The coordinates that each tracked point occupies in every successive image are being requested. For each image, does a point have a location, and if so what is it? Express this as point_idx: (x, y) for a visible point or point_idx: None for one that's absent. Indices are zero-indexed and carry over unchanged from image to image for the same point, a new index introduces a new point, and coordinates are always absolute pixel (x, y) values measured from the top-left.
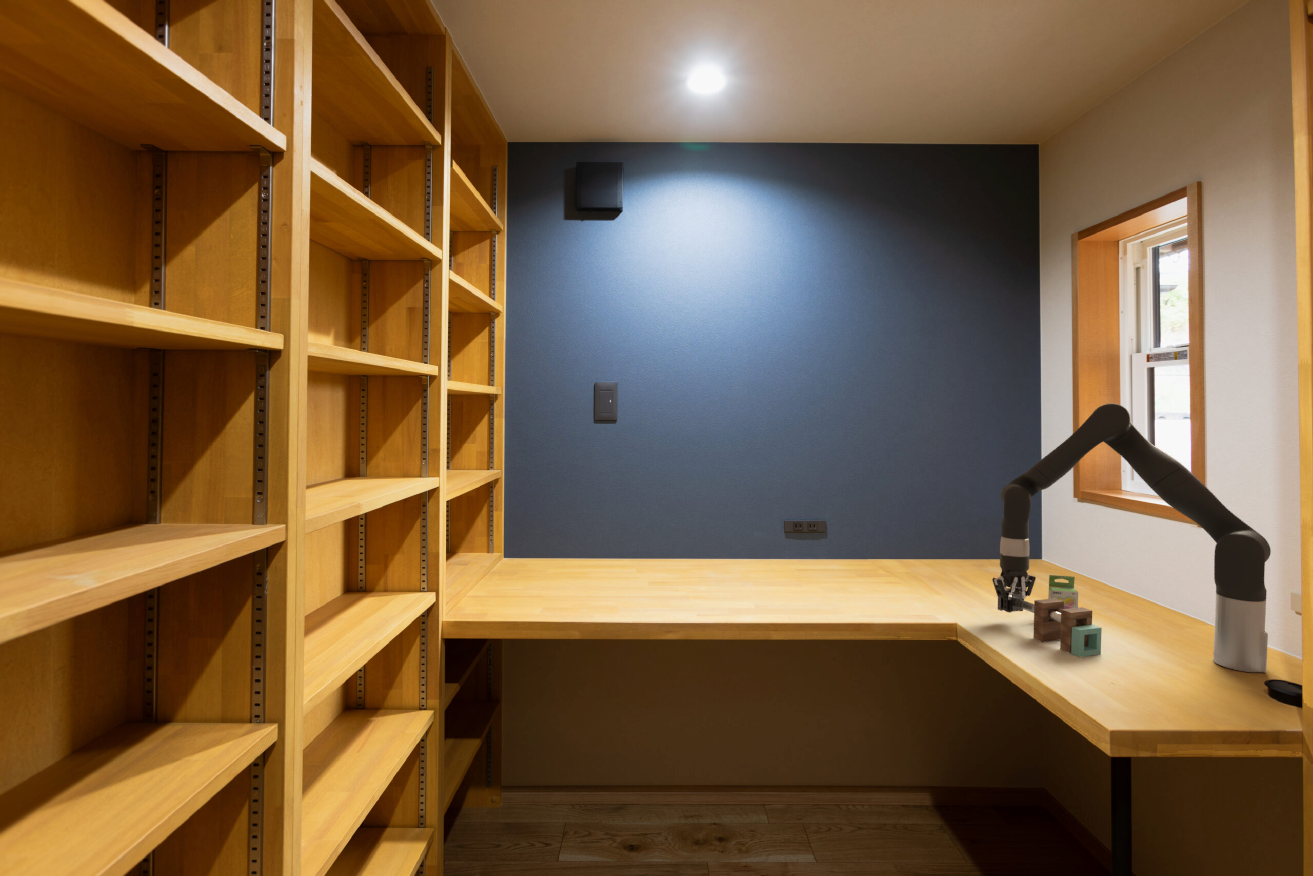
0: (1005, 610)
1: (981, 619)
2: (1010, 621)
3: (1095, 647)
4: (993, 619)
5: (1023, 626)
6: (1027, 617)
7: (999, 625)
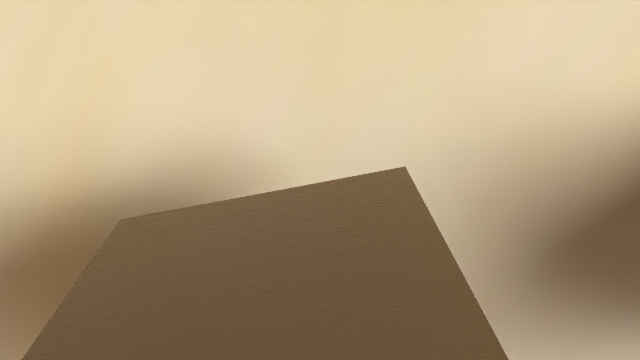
0: None
1: (41, 26)
2: (335, 122)
3: None
4: (185, 40)
5: None
6: (622, 7)
7: None
